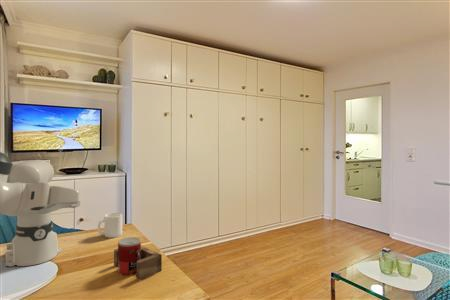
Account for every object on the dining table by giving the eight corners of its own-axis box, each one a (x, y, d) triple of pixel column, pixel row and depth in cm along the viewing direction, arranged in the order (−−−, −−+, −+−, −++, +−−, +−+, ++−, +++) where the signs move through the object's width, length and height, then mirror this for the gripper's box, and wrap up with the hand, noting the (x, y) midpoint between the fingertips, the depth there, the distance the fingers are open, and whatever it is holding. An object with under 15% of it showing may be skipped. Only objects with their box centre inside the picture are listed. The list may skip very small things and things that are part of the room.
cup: (125, 234, 137) (125, 214, 137) (101, 241, 128) (101, 219, 128) (117, 231, 142) (117, 211, 142) (93, 237, 133) (93, 216, 133)
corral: (114, 265, 104) (113, 249, 103) (135, 257, 111) (135, 243, 110) (139, 280, 93) (139, 262, 93) (161, 270, 100) (161, 254, 100)
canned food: (131, 277, 95) (131, 246, 94) (113, 273, 97) (113, 243, 97) (145, 267, 102) (145, 238, 102) (127, 264, 105) (127, 235, 104)
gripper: (9, 217, 79) (59, 219, 90) (43, 205, 69) (95, 208, 80) (13, 196, 81) (61, 200, 92) (46, 180, 71) (96, 187, 82)
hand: (77, 204), depth 86 cm, fingers closed
